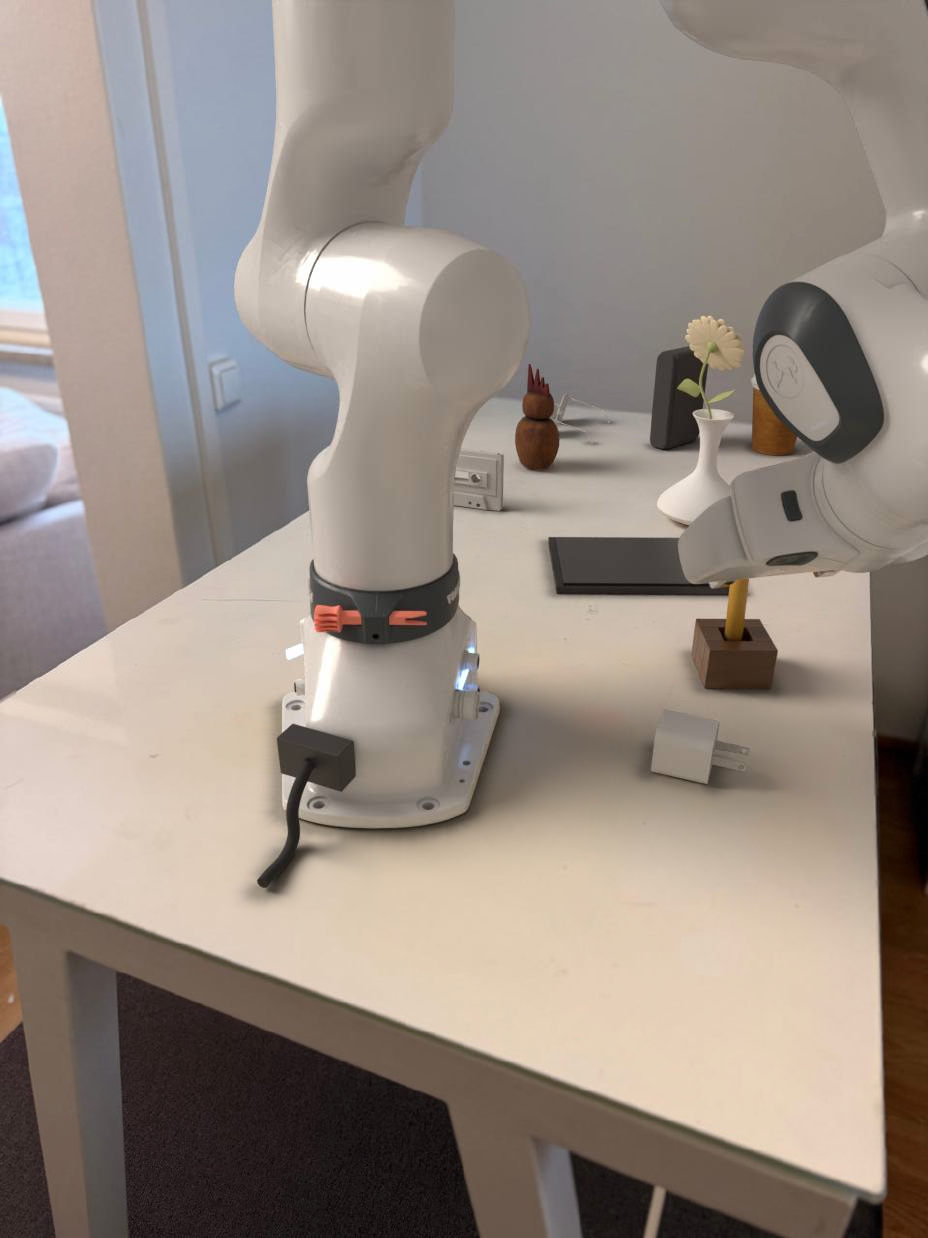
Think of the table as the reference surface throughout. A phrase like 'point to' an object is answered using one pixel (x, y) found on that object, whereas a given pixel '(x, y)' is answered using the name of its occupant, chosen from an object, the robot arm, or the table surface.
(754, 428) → the disposable coffee cup
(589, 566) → the tablet
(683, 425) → the card reader
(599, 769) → the table surface
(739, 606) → the stylus
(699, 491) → the flower in vase
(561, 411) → the clear eyeglasses
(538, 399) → the wooden figurine
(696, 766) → the usb wall charger
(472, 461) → the cassette
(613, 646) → the table surface
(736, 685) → the pen holder
